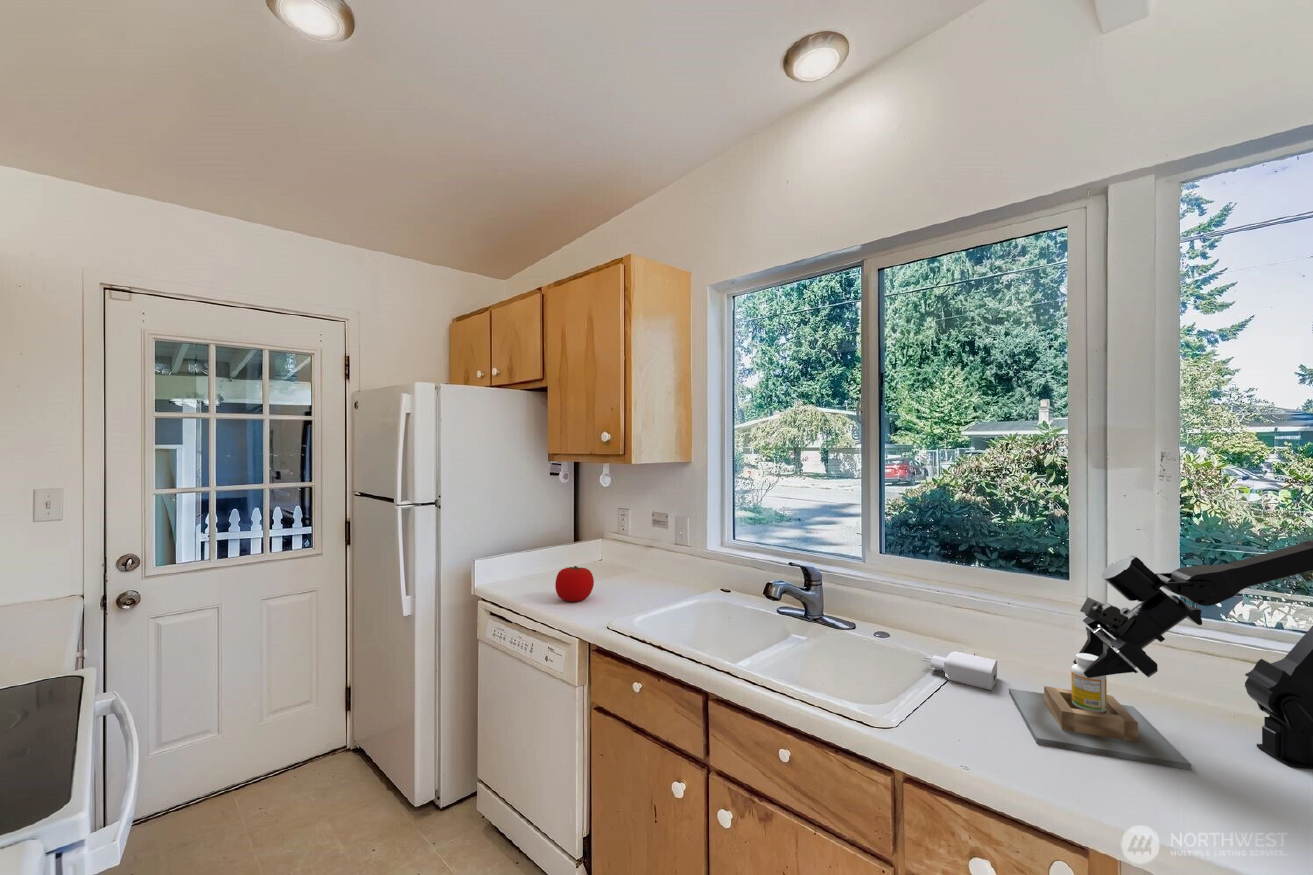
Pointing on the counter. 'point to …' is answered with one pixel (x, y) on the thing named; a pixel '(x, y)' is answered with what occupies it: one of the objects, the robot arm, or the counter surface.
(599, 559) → the counter surface
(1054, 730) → the socket block
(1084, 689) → the supplement bottle
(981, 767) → the counter surface
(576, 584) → the tomato
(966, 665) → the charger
